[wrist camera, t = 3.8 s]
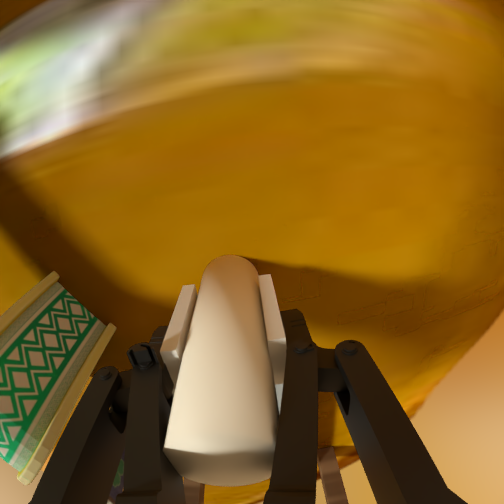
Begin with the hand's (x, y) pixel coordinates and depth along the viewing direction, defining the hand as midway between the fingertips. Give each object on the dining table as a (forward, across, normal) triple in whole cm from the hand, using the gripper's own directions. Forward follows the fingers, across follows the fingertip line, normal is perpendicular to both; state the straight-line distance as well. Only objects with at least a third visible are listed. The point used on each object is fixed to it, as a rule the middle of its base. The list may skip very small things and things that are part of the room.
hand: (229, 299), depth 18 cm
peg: (+3, 0, 0) cm, 3 cm away
